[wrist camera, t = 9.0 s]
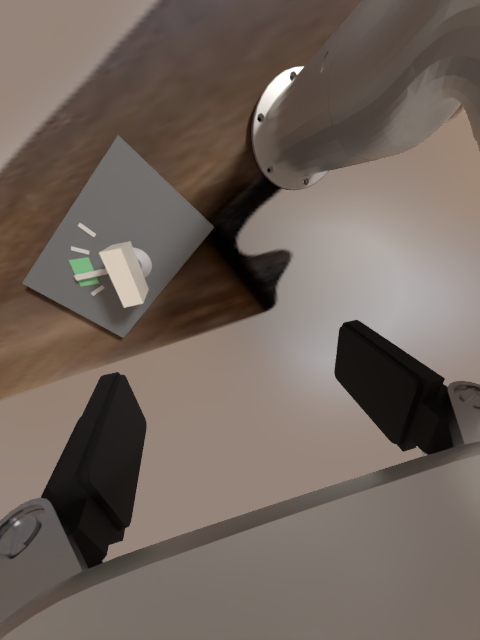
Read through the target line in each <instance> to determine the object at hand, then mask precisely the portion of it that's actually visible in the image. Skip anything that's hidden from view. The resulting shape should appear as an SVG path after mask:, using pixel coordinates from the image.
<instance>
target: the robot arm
mask: <svg viewBox="0 0 480 640" xmlns="http://www.w3.org/2000/svg"><path fill="white" fill-rule="evenodd" d="M290 77H291V79H292V81H291V80H290ZM461 104H462V106H463V108H464V109H465V111H466V113H467V116H468V119H469V121H470V125H471V128H472V131H473V135H474V138H475V140H476V141H477V143H478V148H479V151H480V0H362V1H361V3H360V4H359V5H358V6H357V7H356V9H355V10H354V11H353V12H352V13H351V14H350V15H349V17H348V18H347V19H346V20H345V21H344V22H343V23H342V24H341V26H340V27H339V28H338V29H337V30H336V31H335V32H334V33H333V35H332V36H331V37H330V38H329V39H328V40H327V41H326V43H325V44H324V45H323V46H322V47H321V48H320V49H319V50H318V52H317V53H316V54H315V55H314V56H313V57H312V58H311V60H310V61H309V62H308V63H307V64H306V65H305V66H297V67H292V68H290V69H287V70H285V71H283V72H282V73H280V74H279V75H277V76H276V77H275V78H274V79H273V80H272V81H271V82H270V83H269V85H268V86H267V87H266V89H265V90H264V91H263V93H262V95H261V97H260V99H259V101H258V103H257V105H256V108H255V112H254V115H253V120H252V126H251V141H252V149H253V153H254V156H255V160H256V162H257V164H258V166H259V168H260V170H261V172H262V173H263V174H264V176H265V177H266V178H267V179H268V180H269V181H270V182H271V183H273V184H274V185H276V186H278V187H280V188H283V189H286V190H299V189H304V188H307V187H310V186H312V185H314V184H315V183H317V182H318V181H319V180H320V179H322V178H323V177H324V176H325V175H326V173H327V172H328V171H329V170H333V169H338V168H342V167H347V166H351V165H356V164H360V163H364V162H369V161H374V160H378V159H381V158H386V157H390V156H393V155H397V154H400V153H403V152H405V151H407V150H409V149H411V148H413V147H415V146H417V145H418V144H420V143H421V142H423V141H424V140H426V139H427V138H428V137H430V136H431V135H432V134H433V133H434V132H435V131H437V130H438V129H439V128H440V127H441V126H442V125H443V124H444V123H445V122H446V121H447V120H448V119H449V118H450V116H451V115H452V114H453V113H454V112H455V111H456V110H457V108H458V107H459V106H460V105H461ZM257 118H260V122H258V120H257ZM268 168H269V169H270V172H269V173H268V172H267V169H268ZM303 180H304V184H303ZM335 377H336V379H337V380H338V381H339V382H340V383H341V385H342V386H343V387H344V388H345V389H346V391H347V392H348V393H349V394H350V395H351V396H352V397H353V399H354V400H355V401H356V402H357V403H358V404H359V405H360V407H361V408H362V409H363V410H364V411H365V412H366V414H367V415H368V416H369V417H370V418H371V419H372V421H373V422H374V423H375V424H376V425H377V426H378V427H379V429H380V430H381V431H382V432H383V433H384V434H385V436H386V437H387V438H388V439H389V440H390V441H391V442H392V443H394V444H397V445H398V446H399V447H400V449H401V450H402V451H407V450H410V449H413V448H416V446H418V447H419V448H420V449H421V450H422V454H423V457H420V458H417V459H414V460H410V461H407V462H404V463H401V464H398V465H395V466H392V467H389V468H385V469H382V470H379V471H376V472H373V473H369V474H366V475H363V476H360V477H357V478H354V479H351V480H348V481H345V482H341V483H338V484H335V485H332V486H329V487H326V488H323V489H320V490H317V491H314V492H310V493H307V494H304V495H301V496H298V497H295V498H292V499H289V500H286V501H283V502H280V503H277V504H273V505H270V506H267V507H264V508H261V509H258V510H255V511H252V512H249V513H246V514H243V515H240V516H237V517H234V518H231V519H228V520H225V521H222V522H219V523H216V524H213V525H210V526H207V527H204V528H201V529H198V530H195V531H192V532H188V533H186V534H182V535H179V536H176V537H173V538H171V539H168V540H165V541H162V542H159V543H157V544H154V545H151V546H148V547H145V548H142V549H139V550H136V551H134V552H131V553H128V554H125V555H122V556H120V557H117V558H114V559H112V560H109V561H107V562H106V560H105V559H104V558H105V556H106V555H107V551H108V546H109V545H110V544H113V543H117V542H119V541H123V537H124V531H125V528H126V527H129V525H130V523H131V518H132V512H133V506H134V500H135V494H136V488H137V482H138V476H139V470H140V464H141V458H142V452H143V446H144V439H145V433H146V420H145V417H144V415H143V413H142V411H141V409H140V407H139V404H138V402H137V400H136V398H135V396H134V394H133V391H132V389H131V387H130V385H129V383H128V380H127V378H126V377H125V375H120V374H119V373H118V372H116V373H112V374H107V375H103V376H101V377H100V379H99V381H98V383H97V385H96V388H95V389H94V392H93V394H92V396H91V398H90V400H89V402H88V404H87V406H86V408H85V410H84V412H83V415H82V416H81V417H80V419H79V420H78V422H77V424H76V426H75V428H74V430H73V432H72V434H71V436H70V438H69V441H68V443H67V444H66V447H65V449H64V451H63V453H62V455H61V457H60V459H59V461H58V463H57V465H56V467H55V469H54V471H53V473H52V475H51V477H50V479H49V481H48V484H47V486H46V488H45V490H44V492H43V494H42V496H41V498H37V499H32V500H30V501H27V502H25V503H23V504H21V505H19V506H18V507H17V508H15V509H14V510H12V511H11V512H9V513H8V514H7V515H6V516H5V517H4V518H3V519H2V520H1V521H0V640H480V385H479V384H476V383H472V382H465V381H457V382H453V383H450V385H449V386H448V387H447V386H445V385H443V382H444V378H443V377H442V376H440V375H439V374H437V373H436V372H434V371H433V370H431V369H430V368H428V367H427V366H425V365H424V364H422V363H421V362H419V361H418V360H416V359H415V358H413V357H412V356H410V355H409V354H407V353H406V352H405V351H403V350H402V349H400V348H398V347H397V346H396V345H394V344H392V343H391V342H390V341H388V340H387V339H385V338H384V337H382V336H380V335H379V334H378V333H376V332H375V331H373V330H372V329H370V328H369V327H367V326H366V325H364V324H363V323H361V322H360V321H358V320H355V321H349V322H345V323H343V325H342V327H340V329H339V337H338V346H337V355H336V363H335Z"/></svg>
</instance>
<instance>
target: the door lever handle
mask: <svg viewBox="0 0 480 640" xmlns="http://www.w3.org/2000/svg"><path fill="white" fill-rule="evenodd" d="M99 254H100V256H101V259H102V261H103V263H104V265H105V267H106V268H104V269H99V270H95V271H90V272H85V273H81V274H76V275H74V277H75V279H76V281H78V280H82V279H87V278H92V277H96V276H101V275H106V274H109V276H110V278H111V280H112V283H113V285H114V287H115V289H116V291H117V294H118V296H119V298H120V300H121V302H122V304H123V307H124V308H126V307H130V306H134V305H139V304H143V303H144V300H145V298H146V295H147V293H148V290H149V288H148V286H147V283H146V281H145V278H144V275H143V273H142V270H141V268H142V264H141V262H140V261H139V260H138V259H137V257H136V254H135V252H134V249H133V246H132V244H131V241H128V242H123V243H118V244H113V245H111V246H109V247H107V248H106V249H104V250H102V251H101V252H99Z"/></svg>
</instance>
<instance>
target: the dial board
mask: <svg viewBox="0 0 480 640" xmlns="http://www.w3.org/2000/svg"><path fill="white" fill-rule="evenodd" d="M213 228H214V226H213V225H212V224H211V223H210V222H208V221H207V220H206V219H205V218H204V217H203V216H202V215H201V214H200V213H199V212H198V211H197V210H196V209H195V208H194V207H193V206H192V205H191V204H190V203H189V202H188V201H187V200H185V199H184V198H183V197H182V196H181V195H180V194H179V193H178V192H177V191H176V190H175V189H174V188H173V187H172V186H171V185H170V184H169V183H168V182H167V181H166V180H165V179H164V178H162V177H161V176H160V175H159V174H158V173H157V172H156V171H155V170H154V169H153V168H152V167H151V166H150V165H149V164H148V163H147V162H146V161H145V160H144V159H143V158H142V157H141V156H139V155H138V154H137V153H136V152H135V151H134V150H133V149H132V148H131V147H130V146H129V145H128V144H127V143H126V142H125V141H124V140H123V139H122V138H121V137H120V136H119V135H118V136H117V138H116V139H115V141H114V142H113V144H112V145H111V147H110V148H109V150H108V151H107V153H106V154H105V156H104V158H103V159H102V161H101V162H100V164H99V165H98V167H97V168H96V170H95V171H94V173H93V175H92V176H91V178H90V179H89V181H88V182H87V184H86V185H85V187H84V188H83V190H82V192H81V193H80V195H79V196H78V198H77V199H76V201H75V202H74V204H73V205H72V207H71V209H70V210H69V212H68V213H67V215H66V216H65V218H64V219H63V221H62V222H61V224H60V225H59V227H58V229H57V230H56V232H55V233H54V235H53V236H52V238H51V239H50V241H49V242H48V244H47V246H46V247H45V249H44V250H43V252H42V253H41V255H40V256H39V258H38V259H37V261H36V263H35V264H34V266H33V267H32V269H31V270H30V272H29V273H28V275H27V276H26V278H25V280H24V281H23V283H22V284H24V285H26V286H28V287H30V288H32V289H33V290H35V291H37V292H39V293H41V294H43V295H45V296H46V297H48V298H50V299H52V300H54V301H56V302H57V303H59V304H61V305H63V306H65V307H67V308H69V309H70V310H72V311H74V312H76V313H78V314H80V315H82V316H83V317H85V318H87V319H89V320H91V321H93V322H95V323H96V324H98V325H100V326H102V327H104V328H106V329H108V330H109V331H111V332H113V333H115V334H117V335H119V336H121V337H122V338H124V337H125V335H126V334H127V333H128V332H129V331H130V329H131V328H132V327H133V326H134V325H135V323H136V322H137V321H138V320H139V318H140V317H141V316H142V315H143V314H144V312H145V311H146V310H147V309H148V307H149V306H150V305H151V304H152V303H153V301H154V300H155V299H156V298H157V296H158V295H159V294H160V293H161V292H162V290H163V289H164V288H165V287H166V285H167V284H168V283H169V282H170V281H171V279H172V278H173V277H174V276H175V274H176V273H177V272H178V271H179V270H180V268H181V267H182V266H183V265H184V264H185V262H186V261H187V260H188V259H189V257H190V256H191V255H192V254H193V253H194V251H195V250H196V249H197V248H198V246H199V245H200V244H201V243H202V242H203V240H204V239H205V238H206V237H207V235H208V234H209V233H210V232H211V231H212V229H213ZM128 241H131V244H132V246H133V249H134V252H135V254H136V257H137V259H138V260H139V261H140V262H141V264H142V268H141V270H142V273H143V275H144V278H145V281H146V283H147V286H148V288H149V290H148V293H147V295H146V298H145V300H144V303H143V304H139V305H134V306H130V307H126V308H124V307H123V304H122V302H121V300H120V298H119V296H118V294H117V291H116V289H115V287H114V285H113V283H112V280H111V278H110V276H109V274H106V275H101V276H96V277H92V278H87V279H82V280H78V281H76V279H75V277H74V275H76V274H81V273H85V272H90V271H95V270H99V269H104V268H106V267H105V265H104V263H103V261H102V259H101V256H100V254H99V252H101V251H102V250H104V249H106V248H107V247H109V246H111V245H113V244H118V243H123V242H128Z"/></svg>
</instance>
